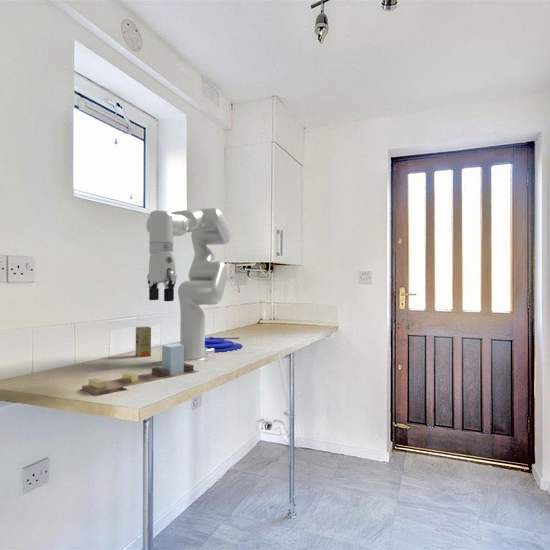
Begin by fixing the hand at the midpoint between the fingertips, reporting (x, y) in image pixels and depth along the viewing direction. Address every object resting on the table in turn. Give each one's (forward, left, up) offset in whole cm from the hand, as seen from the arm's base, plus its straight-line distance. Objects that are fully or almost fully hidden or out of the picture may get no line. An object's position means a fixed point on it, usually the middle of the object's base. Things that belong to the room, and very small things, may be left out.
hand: (161, 300), depth 130 cm
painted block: (-3, +2, -24) cm, 24 cm away
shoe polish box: (-15, -39, -25) cm, 49 cm away
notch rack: (+7, +2, -25) cm, 26 cm away
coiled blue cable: (-48, -35, -26) cm, 65 cm away
